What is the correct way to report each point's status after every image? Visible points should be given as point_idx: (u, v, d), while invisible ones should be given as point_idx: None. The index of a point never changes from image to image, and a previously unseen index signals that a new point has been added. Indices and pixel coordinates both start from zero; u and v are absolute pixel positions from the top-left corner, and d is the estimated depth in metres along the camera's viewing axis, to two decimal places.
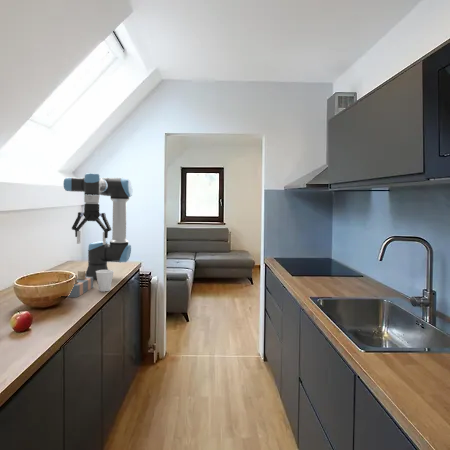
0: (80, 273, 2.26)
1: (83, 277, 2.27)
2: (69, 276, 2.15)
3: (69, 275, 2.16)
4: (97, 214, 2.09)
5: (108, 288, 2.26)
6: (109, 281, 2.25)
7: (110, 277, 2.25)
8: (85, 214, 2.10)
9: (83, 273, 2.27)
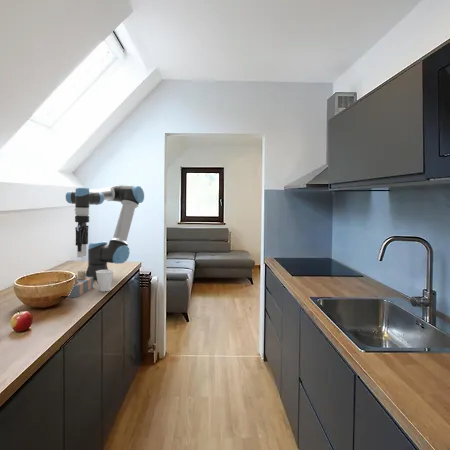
0: (80, 273, 2.26)
1: (83, 277, 2.27)
2: (69, 276, 2.15)
3: (69, 275, 2.16)
4: None
5: (108, 288, 2.26)
6: (109, 281, 2.25)
7: (110, 277, 2.25)
8: None
9: (83, 273, 2.27)
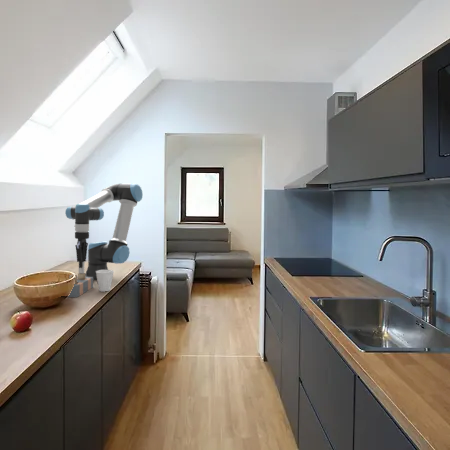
0: (80, 275, 2.26)
1: (83, 279, 2.27)
2: (69, 276, 2.15)
3: (69, 275, 2.16)
4: None
5: (108, 288, 2.26)
6: (109, 281, 2.25)
7: (110, 277, 2.25)
8: None
9: (83, 275, 2.27)
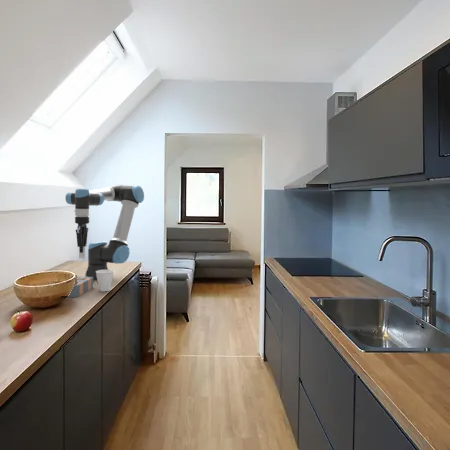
0: None
1: None
2: (69, 276, 2.15)
3: (69, 275, 2.16)
4: None
5: (108, 288, 2.26)
6: (109, 281, 2.25)
7: (110, 277, 2.25)
8: None
9: None
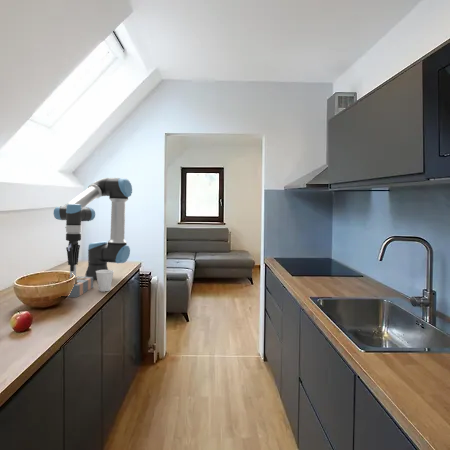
0: None
1: None
2: (69, 278, 2.15)
3: (69, 277, 2.16)
4: None
5: (108, 288, 2.26)
6: (109, 281, 2.25)
7: (110, 277, 2.25)
8: None
9: None
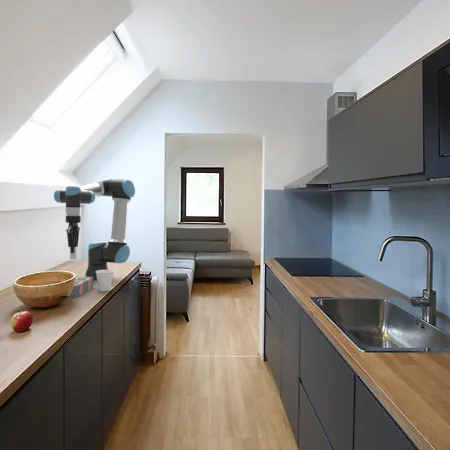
0: None
1: None
2: None
3: None
4: None
5: (108, 288, 2.26)
6: (109, 281, 2.25)
7: (110, 277, 2.25)
8: None
9: None
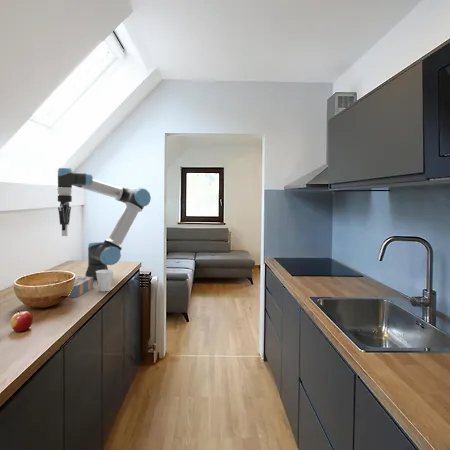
0: None
1: None
2: None
3: None
4: None
5: (108, 288, 2.26)
6: (109, 281, 2.25)
7: (110, 277, 2.25)
8: None
9: None
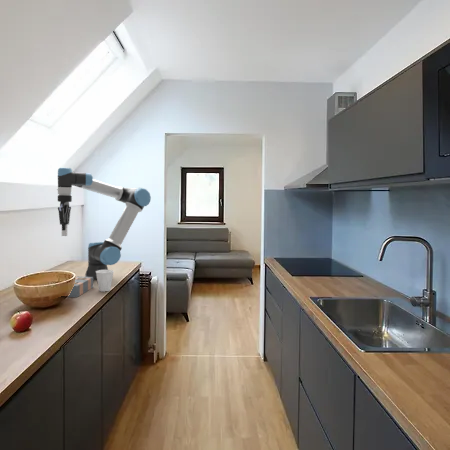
0: None
1: None
2: None
3: None
4: None
5: (108, 288, 2.26)
6: (109, 281, 2.25)
7: (110, 277, 2.25)
8: None
9: None
